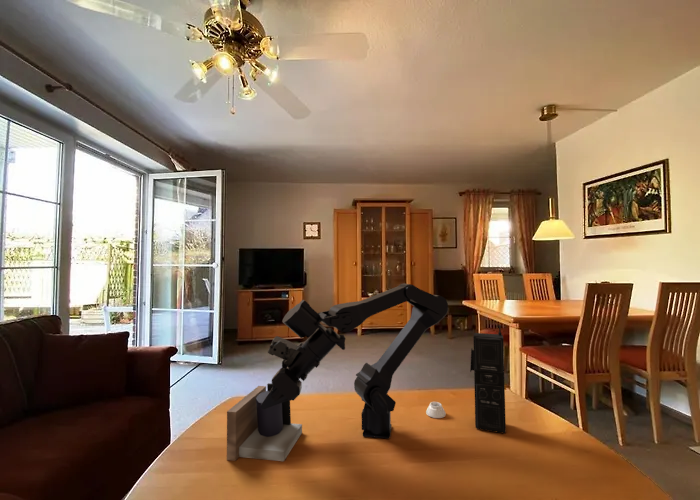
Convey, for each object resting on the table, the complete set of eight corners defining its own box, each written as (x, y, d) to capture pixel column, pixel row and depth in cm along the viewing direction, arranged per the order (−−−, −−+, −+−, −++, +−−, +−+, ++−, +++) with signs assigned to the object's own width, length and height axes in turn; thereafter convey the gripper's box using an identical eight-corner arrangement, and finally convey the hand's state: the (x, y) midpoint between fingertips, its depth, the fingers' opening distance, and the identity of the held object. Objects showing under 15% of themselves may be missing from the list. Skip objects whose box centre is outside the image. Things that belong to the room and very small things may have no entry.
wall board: (303, 429, 83) (303, 388, 84) (280, 465, 69) (280, 415, 69) (258, 425, 85) (258, 385, 86) (226, 459, 71) (226, 411, 71)
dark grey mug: (271, 418, 84) (271, 378, 84) (291, 424, 82) (290, 383, 81) (251, 436, 77) (250, 392, 77) (272, 442, 75) (271, 397, 74)
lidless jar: (433, 420, 88) (449, 417, 90) (433, 409, 88) (449, 406, 90) (422, 413, 92) (437, 409, 94) (422, 402, 93) (437, 399, 94)
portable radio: (470, 429, 83) (468, 326, 84) (471, 418, 88) (469, 322, 89) (506, 435, 80) (503, 328, 81) (504, 423, 86) (502, 324, 86)
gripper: (294, 318, 87) (251, 362, 87) (282, 333, 69) (227, 389, 68) (325, 348, 87) (282, 392, 87) (321, 372, 69) (267, 428, 68)
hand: (266, 399), depth 77 cm, fingers open, 9 cm apart
